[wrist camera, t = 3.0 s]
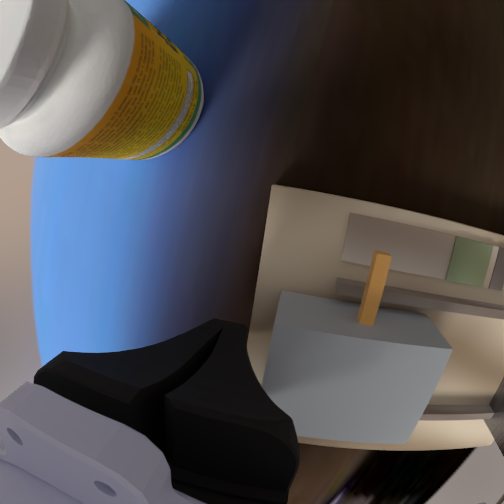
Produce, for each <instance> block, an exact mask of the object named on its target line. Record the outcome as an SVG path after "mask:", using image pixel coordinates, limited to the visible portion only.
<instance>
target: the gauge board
mask: <svg viewBox="0 0 504 504" xmlns="http://www.w3.org/2000/svg"><path fill="white" fill-rule="evenodd" d="M374 250H376V251H382V252H387V253H389V254H390V255H391V256H392V258H391V262H390V266H389V270H388V274H387V278H386V282H385V286H384V290H383V293H382V297H381V301H380V304H379V307H384V308H390V309H396V310H403V311H409V312H416V313H423V314H426V315H427V316H428V318H429V319H430V320H431V321H432V323H433V324H434V325H435V326H436V328H437V329H438V330H439V332H440V333H441V334H442V335H443V337H444V338H445V339H446V341H447V342H448V343H449V345H450V346H451V347H452V349H453V350H452V353H451V355H450V357H449V360H448V362H447V364H446V367H445V369H444V371H443V373H442V376H441V378H440V380H439V382H438V384H437V386H436V388H435V390H434V393H433V395H432V397H431V399H430V401H429V403H428V404H427V406H426V408H425V410H424V412H423V414H422V416H421V418H420V420H419V421H418V423H417V425H416V427H415V429H414V430H413V432H412V434H411V435H410V437H409V439H408V441H407V442H406V444H379V443H361V442H348V441H337V440H327V439H318V438H310V437H303V436H297V439H298V443H305V444H313V445H321V446H331V447H341V448H354V449H371V450H441V449H457V448H469V447H478V446H487V445H491V443H492V442H493V441H494V438H493V436H492V434H491V432H490V430H489V429H488V427H487V425H486V423H485V422H484V420H483V419H491V418H492V416H493V415H494V411H493V410H492V408H491V407H490V405H489V404H490V402H491V400H492V398H493V396H494V395H495V393H496V391H497V389H498V387H499V385H500V383H501V381H502V379H503V377H504V235H502V234H498V233H495V232H491V231H488V230H484V229H481V228H477V227H473V226H470V225H466V224H462V223H458V222H454V221H451V220H447V219H443V218H439V217H435V216H431V215H426V214H422V213H418V212H414V211H409V210H405V209H401V208H396V207H392V206H387V205H383V204H378V203H373V202H368V201H363V200H358V199H353V198H348V197H343V196H338V195H333V194H327V193H322V192H316V191H311V190H305V189H299V188H293V187H287V186H281V185H272V188H271V194H270V201H269V208H268V214H267V221H266V227H265V234H264V240H263V247H262V253H261V260H260V266H259V273H258V279H257V285H256V292H255V298H254V304H253V311H252V317H251V323H250V329H249V336H248V342H247V351H248V356H249V359H250V362H251V365H252V368H253V370H254V373H255V375H256V377H257V379H258V381H259V383H260V384H261V386H262V381H263V376H264V372H265V367H266V362H267V357H268V352H269V347H270V342H271V336H272V331H273V326H274V321H275V317H276V313H277V308H278V304H279V300H280V295H281V291H282V290H284V291H289V292H295V293H300V294H306V295H312V296H317V297H323V298H329V299H335V300H341V301H347V302H353V303H359V304H361V301H362V298H363V294H364V290H365V286H366V282H367V278H368V274H369V269H370V265H371V261H372V256H373V252H374Z"/></svg>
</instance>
